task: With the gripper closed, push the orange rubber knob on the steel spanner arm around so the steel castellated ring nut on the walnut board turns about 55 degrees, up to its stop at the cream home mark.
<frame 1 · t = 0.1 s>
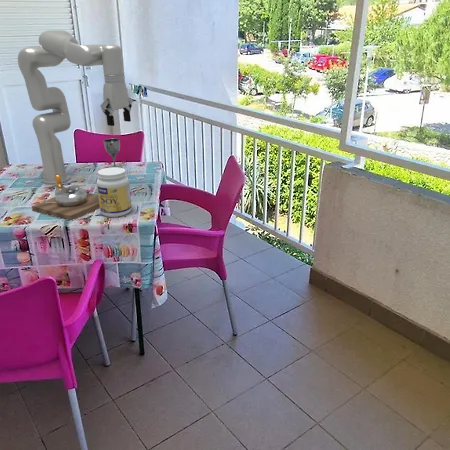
hand: (119, 123, 177), 31 cm above the table, tool pointing down, fingers open, 9 cm apart
nut board: (73, 206, 178), on the table
wine glass: (115, 168, 227), on the table
supplement tub: (116, 212, 173), on the table
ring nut: (66, 189, 178), point 7 cm above the table, hinge at 0.0°
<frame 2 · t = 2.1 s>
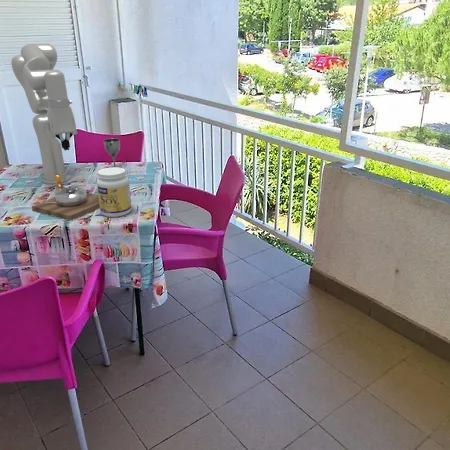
hand: (66, 149, 180), 21 cm above the table, tool pointing down, fingers closed
nothing on the table moved.
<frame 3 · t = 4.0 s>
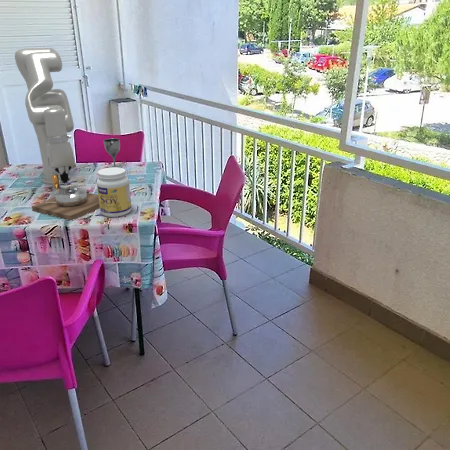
hand: (65, 182, 185), 7 cm above the table, tool pointing down, fingers closed
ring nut: (65, 189, 178), point 7 cm above the table, hinge at 5.8°, touching gripper
everything else where it was.
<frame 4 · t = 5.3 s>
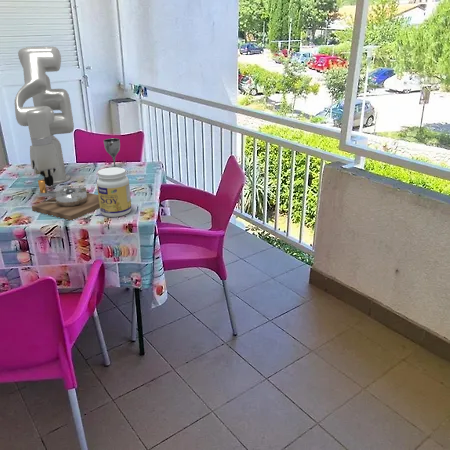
hand: (49, 185, 180), 8 cm above the table, tool pointing down, fingers closed
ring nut: (61, 191, 176), point 7 cm above the table, hinge at 40.2°, touching gripper
everything else where it was.
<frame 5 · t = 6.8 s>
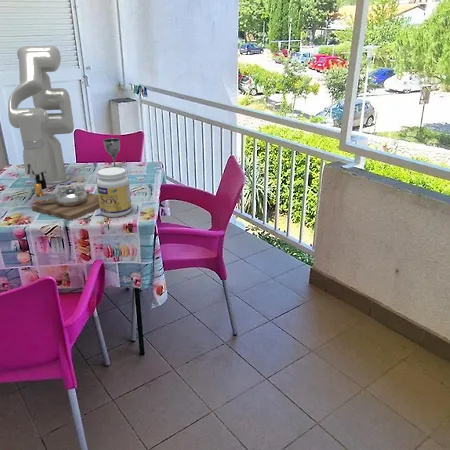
hand: (42, 188, 177), 7 cm above the table, tool pointing down, fingers closed
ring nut: (60, 192, 175), point 7 cm above the table, hinge at 60.7°, touching gripper
everything else where it was.
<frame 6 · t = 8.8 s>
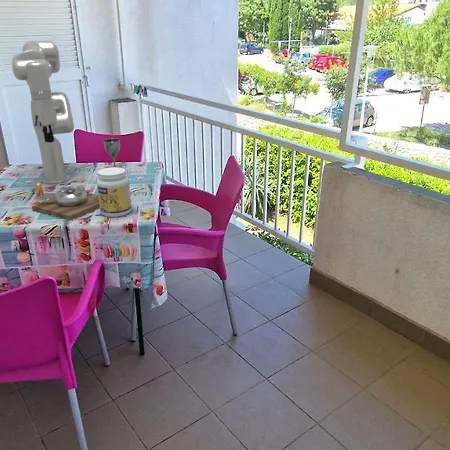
hand: (49, 141, 177), 25 cm above the table, tool pointing down, fingers closed
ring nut: (60, 191, 175), point 7 cm above the table, hinge at 56.2°
everything else where it was.
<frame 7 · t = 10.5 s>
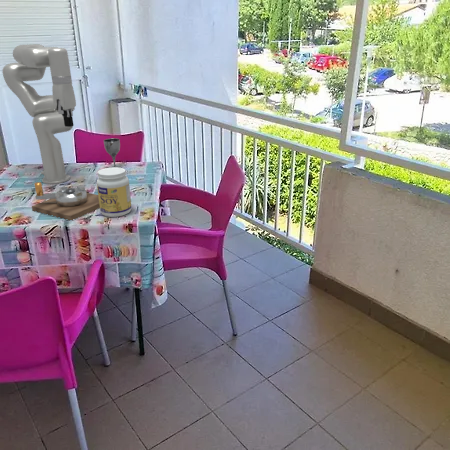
hand: (69, 126, 184), 29 cm above the table, tool pointing down, fingers closed
nothing on the table moved.
at the end: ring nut at +56° (first picture: +0°) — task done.
